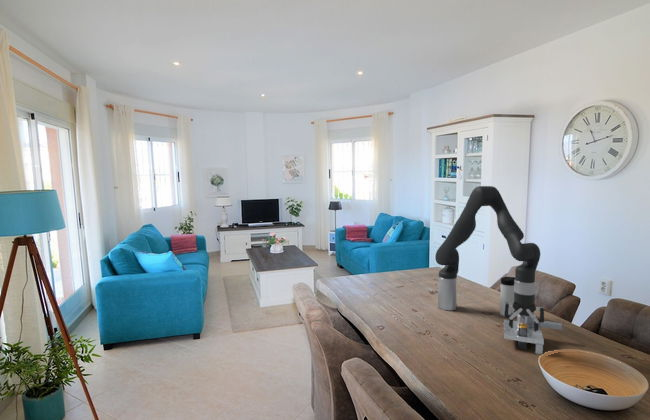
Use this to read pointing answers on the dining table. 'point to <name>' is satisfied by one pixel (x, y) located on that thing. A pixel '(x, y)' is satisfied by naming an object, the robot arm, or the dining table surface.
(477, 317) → the dining table surface
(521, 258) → the robot arm
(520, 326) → the pin
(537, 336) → the grey metal bracket
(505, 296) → the travel mug
